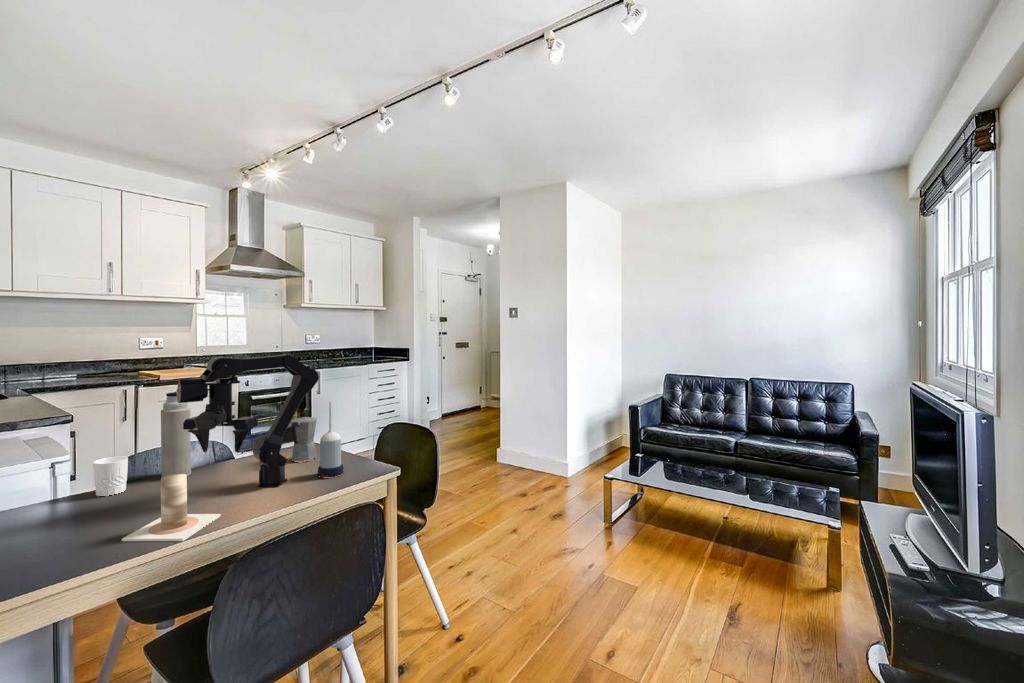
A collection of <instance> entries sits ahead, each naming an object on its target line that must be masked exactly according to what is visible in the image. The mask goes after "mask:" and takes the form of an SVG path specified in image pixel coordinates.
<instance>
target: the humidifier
mask: <svg viewBox="0 0 1024 683" xmlns="http://www.w3.org/2000/svg"><path fill="white" fill-rule="evenodd" d="M332 403H333V402H332V401H329V403H328V404H329V407H328V408H329V409H328V411H329V416H328V418H329V419H328V428H329V429H328V431H327V432H325V433H324V434H323V435H322V436H321V437H320V442H319V466H318V468H317V477H318V476H320V477H335V476H338V475H341V474H342V473H343V474H344V465H343V463H342V437H341V436H340V434H339V433H337V432H335V431H333V410H332V408H333V404H332Z"/></svg>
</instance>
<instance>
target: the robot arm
mask: <svg viewBox="0 0 1024 683" xmlns="http://www.w3.org/2000/svg"><path fill="white" fill-rule="evenodd" d="M273 368H274V369H275V368H284V369H285V370H286V371H287V372H288V373H289V374H290V375H292V380H291V382H290V383H291V384H290V390H289V392H288V395H287V396H286V399H285V400H284V402H283V404H282V406H281V407H280V409H279V411H278V413H277V415H276V417H275V418H274V420H273V422H272V424H271V426H270V427H269V430H268V431H267V432H266V433H264V435H262V434H258V436H257V439H256V441H255V442H254V443H253V444H252V446H251V447H253V448H252V455H253V457H255V459H257V460H258V461H259V463H260V464H261V465H259V466H260V468H259V470H258V484H257V487H259V488H261V487H264V488H266V487H269V486H271V487H273V488H275V487H277V486H278V487H279V485H280V486H281V485H282V483H283V484H284V483H285V482H287V481H288V478H286V471H285V470H286V467H285V466H286V464H287V461H288V459H287V458H286V457H285V456H283V455H282V454H281V453H280V452H281V450H282V446H283V437H284V435H285V433H286V431H287V429H288V427H289V426H290V424H291V420H293V419H294V416H295V415H296V413H297V410H298V408H299V407H300V405H301V403H302V402H303V399H304V397H305V396H306V395H307V394H308V393H309V392H311V390H312V389H313V388H314V387H315V386H316V384H317V383H319V382H318V381H319V379H320V376H319V373H318V371H317V370H316V369H315V368H311V367H308V366H306V365H305V364H304V363H303V362H301V361H300V360H299V359H296V358H295V357H294V355H292V354H287V353H283V354H279V355H278V354H276V355H267V356H256V357H245V358H241V357H240V358H239V357H230V356H229V357H228V356H227V357H226V356H215V357H212V358H210V359H209V361H208V362H207V364H206V369H205V370H204V371H203V372H202V373H201V374H200V375H199V377H198V378H178V383H177V389H176V391H175V392H176V395H177V401H178V403H187V402H188V403H196V402H203V401H204V399H207V397H208V400H209V401H208V403H206V405H205V410H204V411H203V412H201V413H200V414H198V415H197V416H193V417H191V418H189V419H186V420H185V421H184V422H183V429H189V430H187V431H188V432H191V434H192V435H194V436H195V437H196V439H197V440H198V443H199V445H200V447H201V449H202V451H203V453H207V452H208V450H209V442H210V431H211V430H214V429H215V428H216V427H233V429H234V430H232V433H233V435H234V452H235V453H238V452H239V451H240V449H241V447H242V444H243V443H244V440H245V439H246V437H247V435H248V433H249V431H251V430H253V429H254V427H258V419H257V418H256V416H242V417H239V418H236V415H235V414H233V406H235V405H236V404H235V401H233V384H234V385H235V384H240V383H241V381H240V380H239V379H237V378H236V377H235V375H237V374H241V373H243V372H248V371H256V370H264V369H266V370H267V369H273ZM226 377H227V378H226ZM286 480H287V481H286ZM271 487H269V488H271ZM278 487H277V488H278Z"/></svg>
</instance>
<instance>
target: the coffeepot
mask: <svg viewBox="0 0 1024 683" xmlns="http://www.w3.org/2000/svg"><path fill="white" fill-rule="evenodd" d="M306 415H307V412H305V411H303V412H301V417H298V418H297V417H296V418H293V419H292V420H291V422H290V424H291V427H290V430H291V434H292V439H293V448H292V455H291V460H293V461H304V460H310V459H313V458H316V459H317V457H316V456H317V450H316V445H315V441H314V438H315V434H316V428H317V427H316V426H317V418H315V417H311V416H310V417H309V416H306Z"/></svg>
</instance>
